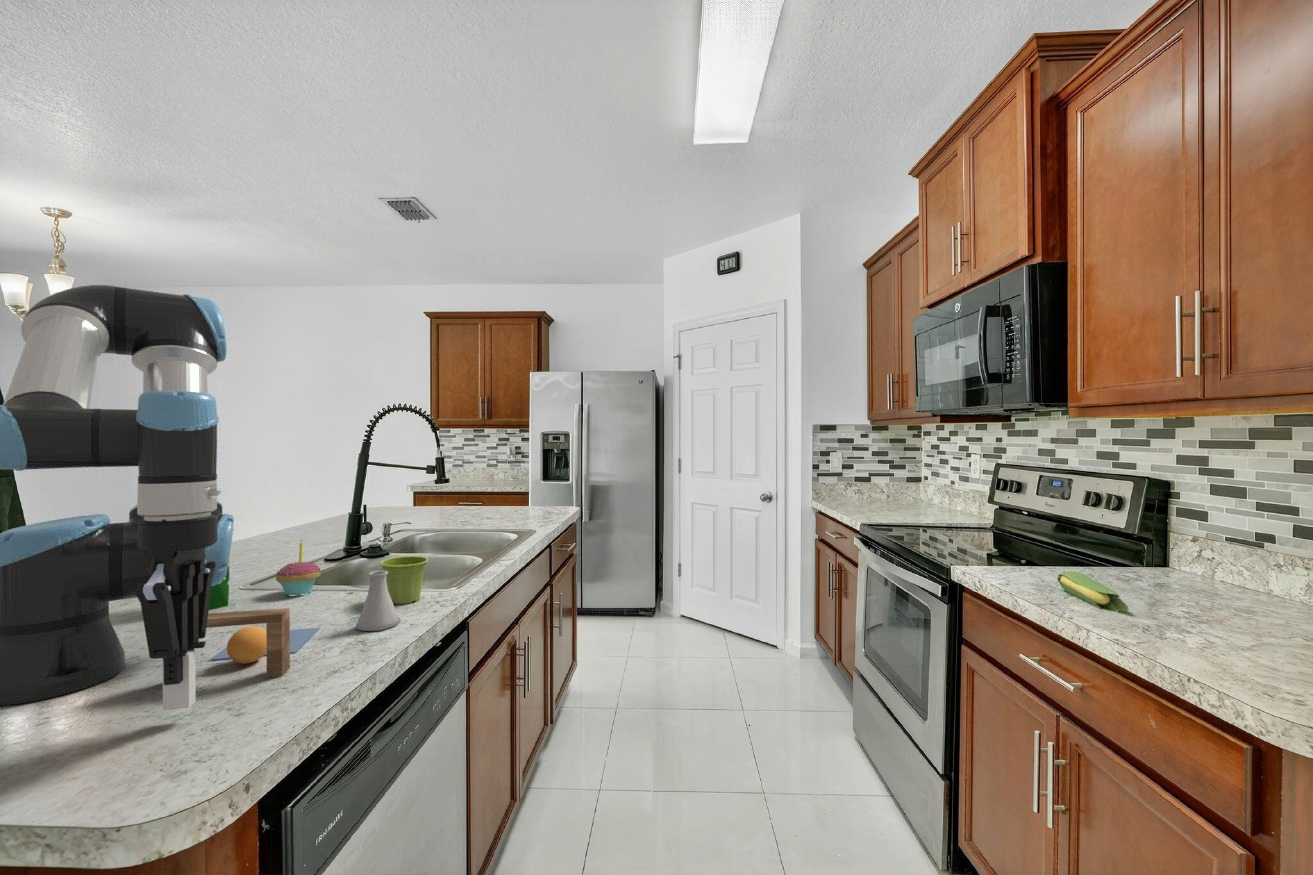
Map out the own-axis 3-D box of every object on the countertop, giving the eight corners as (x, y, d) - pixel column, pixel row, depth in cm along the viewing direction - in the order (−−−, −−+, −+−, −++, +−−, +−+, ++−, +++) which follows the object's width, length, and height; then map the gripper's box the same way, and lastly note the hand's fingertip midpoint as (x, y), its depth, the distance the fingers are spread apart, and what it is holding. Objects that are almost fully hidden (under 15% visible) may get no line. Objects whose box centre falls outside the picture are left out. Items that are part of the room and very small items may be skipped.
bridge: (282, 676, 82) (282, 613, 82) (164, 687, 78) (164, 622, 78) (289, 667, 85) (289, 607, 85) (176, 678, 81) (176, 615, 81)
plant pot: (428, 592, 126) (428, 554, 126) (427, 604, 117) (427, 563, 117) (382, 597, 123) (382, 557, 123) (378, 609, 114) (378, 567, 114)
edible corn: (1079, 570, 128) (1058, 564, 129) (1136, 598, 109) (1110, 590, 110) (1071, 591, 129) (1050, 585, 130) (1127, 622, 109) (1101, 614, 110)
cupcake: (283, 590, 128) (283, 538, 128) (325, 587, 131) (325, 536, 131) (270, 600, 120) (270, 545, 120) (315, 597, 123) (314, 542, 123)
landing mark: (209, 660, 88) (209, 659, 88) (244, 634, 99) (244, 633, 99) (296, 652, 91) (296, 651, 91) (319, 628, 103) (319, 627, 103)
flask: (382, 633, 100) (381, 578, 100) (346, 631, 101) (346, 576, 101) (407, 620, 107) (407, 568, 107) (374, 618, 108) (374, 567, 108)
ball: (217, 640, 83) (235, 620, 88) (221, 672, 85) (238, 650, 90) (259, 637, 85) (274, 618, 90) (263, 669, 86) (277, 647, 91)
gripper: (185, 522, 64) (186, 728, 64) (238, 508, 76) (238, 680, 76) (105, 525, 62) (105, 737, 62) (173, 510, 74) (173, 686, 74)
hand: (179, 705), depth 69 cm, fingers closed
